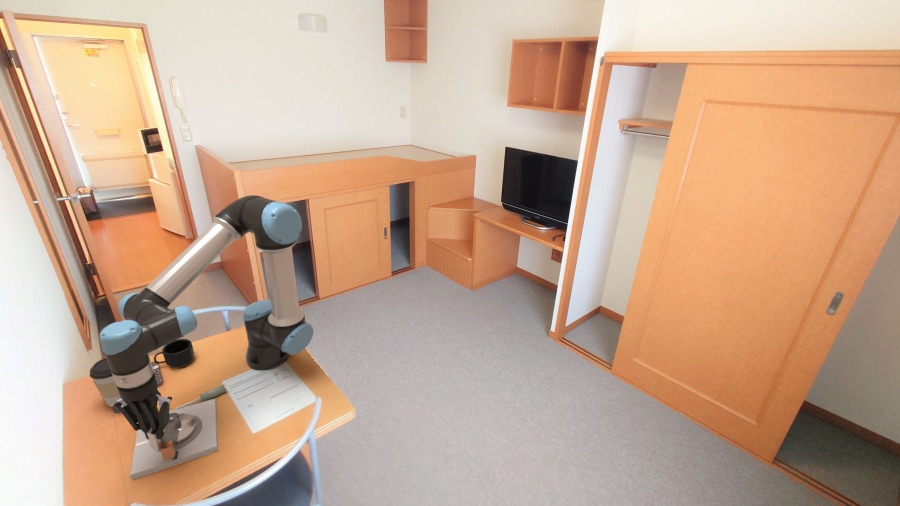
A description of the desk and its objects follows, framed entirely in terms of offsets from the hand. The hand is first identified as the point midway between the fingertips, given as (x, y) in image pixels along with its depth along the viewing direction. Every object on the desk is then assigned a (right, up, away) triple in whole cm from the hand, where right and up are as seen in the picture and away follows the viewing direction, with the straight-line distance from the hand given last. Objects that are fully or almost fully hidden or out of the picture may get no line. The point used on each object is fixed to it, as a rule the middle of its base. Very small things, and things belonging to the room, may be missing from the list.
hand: (158, 445), depth 109 cm
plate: (-1, -2, +10) cm, 10 cm away
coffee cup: (-28, +5, +22) cm, 36 cm away
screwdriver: (-4, +5, +23) cm, 24 cm away
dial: (0, -1, +7) cm, 7 cm away
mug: (-21, +12, +38) cm, 45 cm away
